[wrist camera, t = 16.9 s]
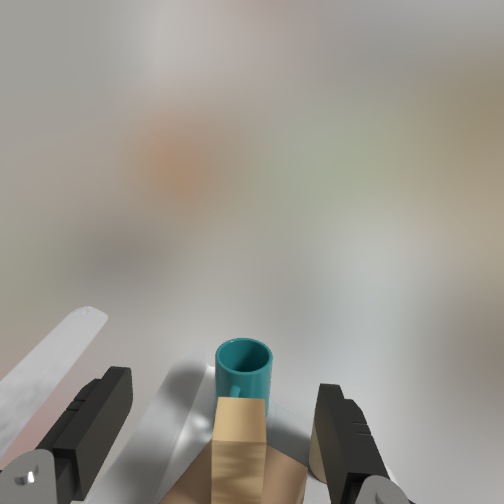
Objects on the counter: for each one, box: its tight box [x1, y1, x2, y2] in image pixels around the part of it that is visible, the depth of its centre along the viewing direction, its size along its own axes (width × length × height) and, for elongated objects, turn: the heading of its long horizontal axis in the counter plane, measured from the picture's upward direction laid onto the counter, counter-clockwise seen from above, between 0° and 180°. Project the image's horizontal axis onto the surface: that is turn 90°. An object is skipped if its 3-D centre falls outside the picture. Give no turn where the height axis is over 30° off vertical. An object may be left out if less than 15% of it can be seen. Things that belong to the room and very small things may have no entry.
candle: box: [308, 415, 327, 484], centre depth 39 cm, size 6×6×10 cm
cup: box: [215, 338, 273, 419], centre depth 45 cm, size 9×12×11 cm
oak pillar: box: [211, 397, 266, 504], centre depth 30 cm, size 5×5×10 cm
